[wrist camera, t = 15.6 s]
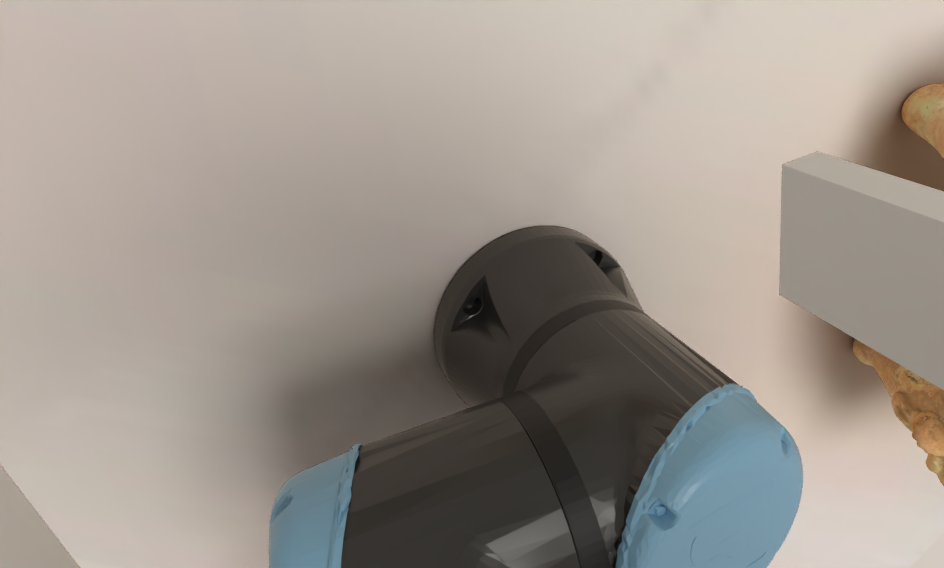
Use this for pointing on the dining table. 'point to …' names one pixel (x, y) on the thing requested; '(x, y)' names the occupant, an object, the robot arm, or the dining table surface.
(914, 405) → the decorative bowl
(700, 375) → the robot arm
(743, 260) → the dining table surface
